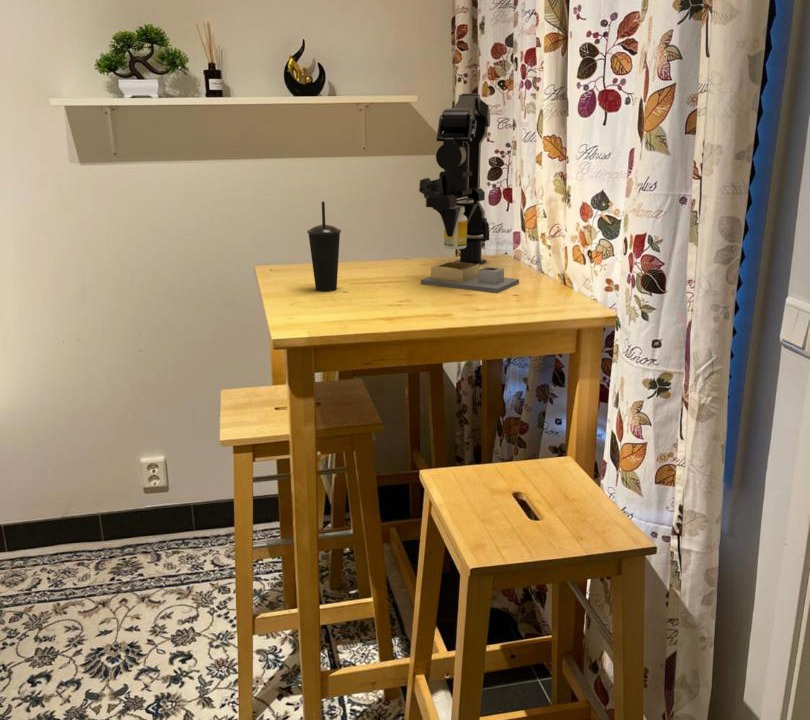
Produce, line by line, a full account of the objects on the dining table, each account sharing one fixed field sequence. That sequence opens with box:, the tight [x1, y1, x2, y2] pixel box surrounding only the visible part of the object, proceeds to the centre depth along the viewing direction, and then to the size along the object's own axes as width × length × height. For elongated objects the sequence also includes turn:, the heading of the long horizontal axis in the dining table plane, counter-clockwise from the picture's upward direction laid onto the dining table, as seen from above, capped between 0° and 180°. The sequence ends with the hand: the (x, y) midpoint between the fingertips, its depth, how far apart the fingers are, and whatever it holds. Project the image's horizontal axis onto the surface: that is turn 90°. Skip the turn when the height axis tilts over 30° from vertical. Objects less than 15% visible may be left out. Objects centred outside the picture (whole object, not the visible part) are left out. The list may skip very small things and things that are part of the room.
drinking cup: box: [306, 201, 342, 292], centre depth 179 cm, size 8×8×20 cm
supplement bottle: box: [443, 206, 468, 250], centre depth 185 cm, size 5×5×10 cm
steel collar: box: [478, 266, 505, 285], centre depth 184 cm, size 4×4×3 cm
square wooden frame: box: [430, 260, 480, 283], centre depth 188 cm, size 8×8×3 cm
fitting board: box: [420, 275, 520, 294], centre depth 187 cm, size 12×20×1 cm, turn 58°
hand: (455, 234), depth 186 cm, fingers closed on supplement bottle, 5 cm apart
